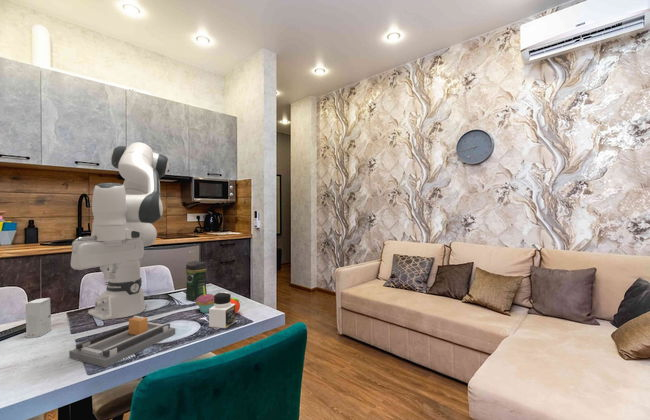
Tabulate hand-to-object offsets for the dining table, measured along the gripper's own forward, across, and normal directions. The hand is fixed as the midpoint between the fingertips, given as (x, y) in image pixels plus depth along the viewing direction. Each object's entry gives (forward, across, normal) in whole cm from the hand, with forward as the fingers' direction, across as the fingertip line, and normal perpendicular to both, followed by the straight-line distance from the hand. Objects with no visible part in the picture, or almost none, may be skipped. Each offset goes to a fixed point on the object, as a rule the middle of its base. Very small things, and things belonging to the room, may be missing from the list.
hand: (110, 278), depth 93 cm
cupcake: (+23, +40, -1) cm, 46 cm away
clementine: (+23, +40, -15) cm, 49 cm away
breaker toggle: (+21, +9, 0) cm, 23 cm away
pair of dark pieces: (+20, +5, 0) cm, 21 cm away
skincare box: (+23, 0, +38) cm, 45 cm away
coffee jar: (+23, +52, +16) cm, 59 cm away
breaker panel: (+23, +5, 0) cm, 24 cm away
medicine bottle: (+23, +30, -18) cm, 42 cm away
